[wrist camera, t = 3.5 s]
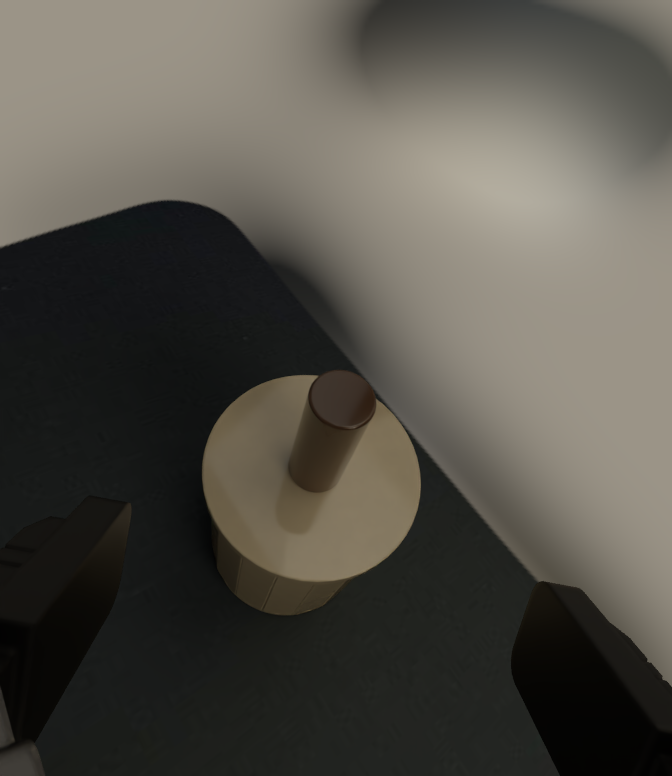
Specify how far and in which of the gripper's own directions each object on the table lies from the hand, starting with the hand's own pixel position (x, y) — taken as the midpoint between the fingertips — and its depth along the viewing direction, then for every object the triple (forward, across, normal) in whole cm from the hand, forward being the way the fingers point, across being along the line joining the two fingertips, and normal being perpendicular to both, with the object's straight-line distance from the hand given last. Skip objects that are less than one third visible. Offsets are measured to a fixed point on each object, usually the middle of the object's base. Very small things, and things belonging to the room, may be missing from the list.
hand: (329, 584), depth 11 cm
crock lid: (+10, 0, +2) cm, 10 cm away
